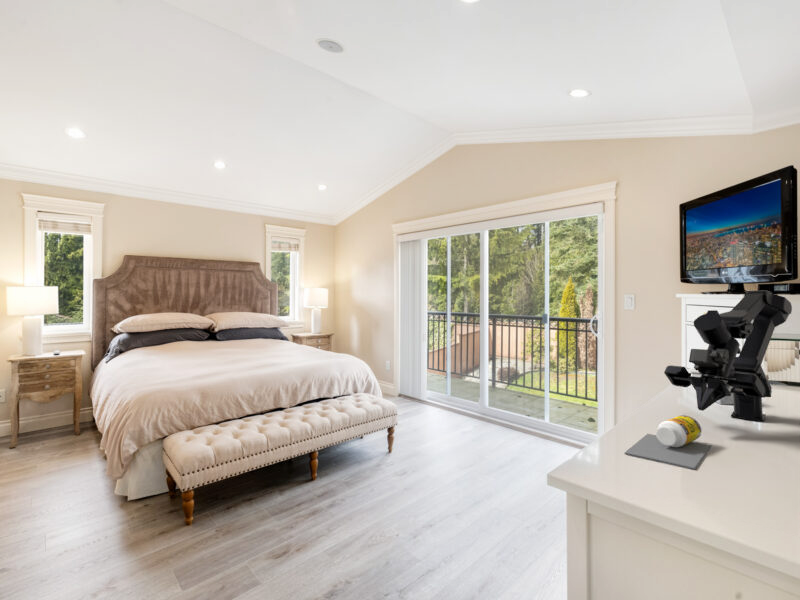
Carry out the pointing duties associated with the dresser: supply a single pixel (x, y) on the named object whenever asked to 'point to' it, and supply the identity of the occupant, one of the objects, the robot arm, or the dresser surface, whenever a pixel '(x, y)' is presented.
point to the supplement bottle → (678, 431)
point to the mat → (669, 452)
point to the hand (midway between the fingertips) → (700, 409)
